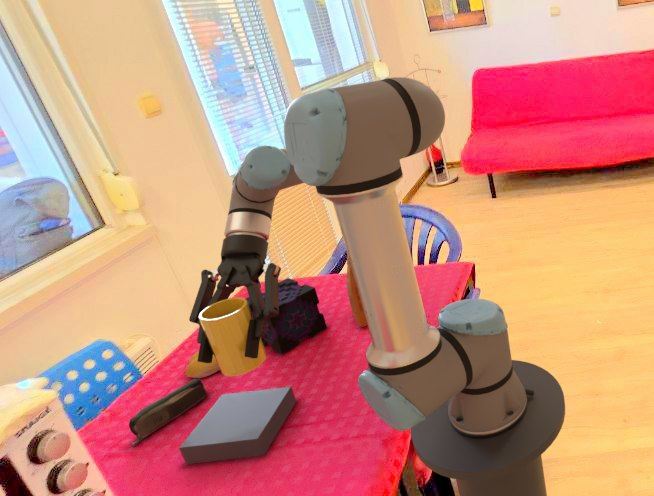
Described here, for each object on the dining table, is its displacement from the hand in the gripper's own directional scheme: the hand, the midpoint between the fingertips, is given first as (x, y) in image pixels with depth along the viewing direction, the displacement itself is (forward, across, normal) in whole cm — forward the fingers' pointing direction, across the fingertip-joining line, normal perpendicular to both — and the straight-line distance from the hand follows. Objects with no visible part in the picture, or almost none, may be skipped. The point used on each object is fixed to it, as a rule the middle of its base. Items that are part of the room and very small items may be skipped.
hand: (227, 359), depth 93 cm
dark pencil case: (+7, +22, -20) cm, 30 cm away
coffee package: (-16, -10, -43) cm, 47 cm away
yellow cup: (0, 0, -5) cm, 5 cm away
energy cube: (-12, +9, -39) cm, 41 cm away
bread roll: (-5, +24, -32) cm, 40 cm away
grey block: (+11, +4, -15) cm, 19 cm away
